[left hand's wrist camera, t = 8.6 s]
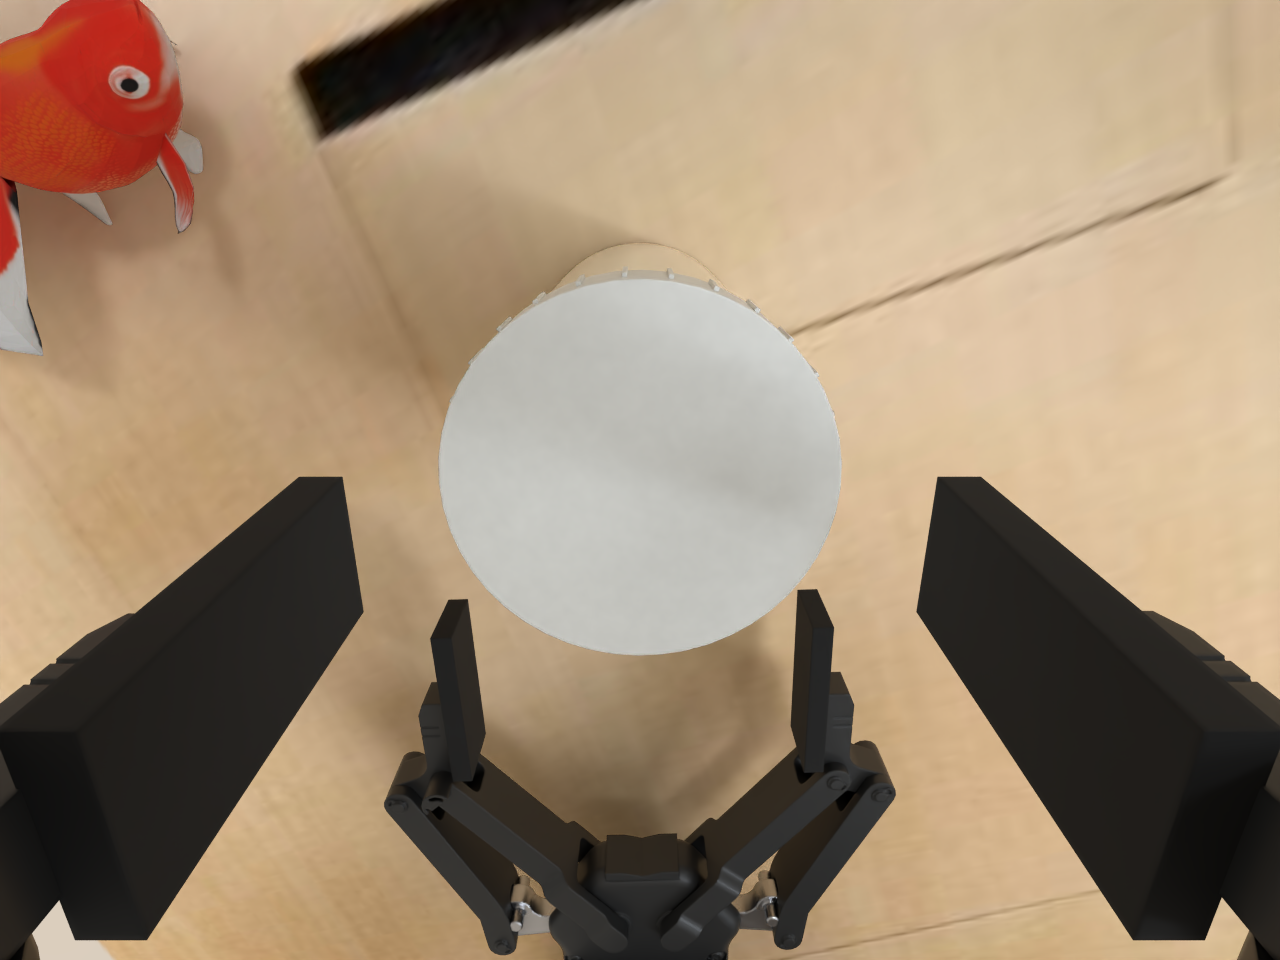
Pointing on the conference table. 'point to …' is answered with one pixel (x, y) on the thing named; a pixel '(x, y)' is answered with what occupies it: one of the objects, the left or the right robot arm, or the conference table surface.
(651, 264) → the jar
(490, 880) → the right robot arm
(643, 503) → the lid
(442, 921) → the conference table surface
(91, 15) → the fish
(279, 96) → the conference table surface
